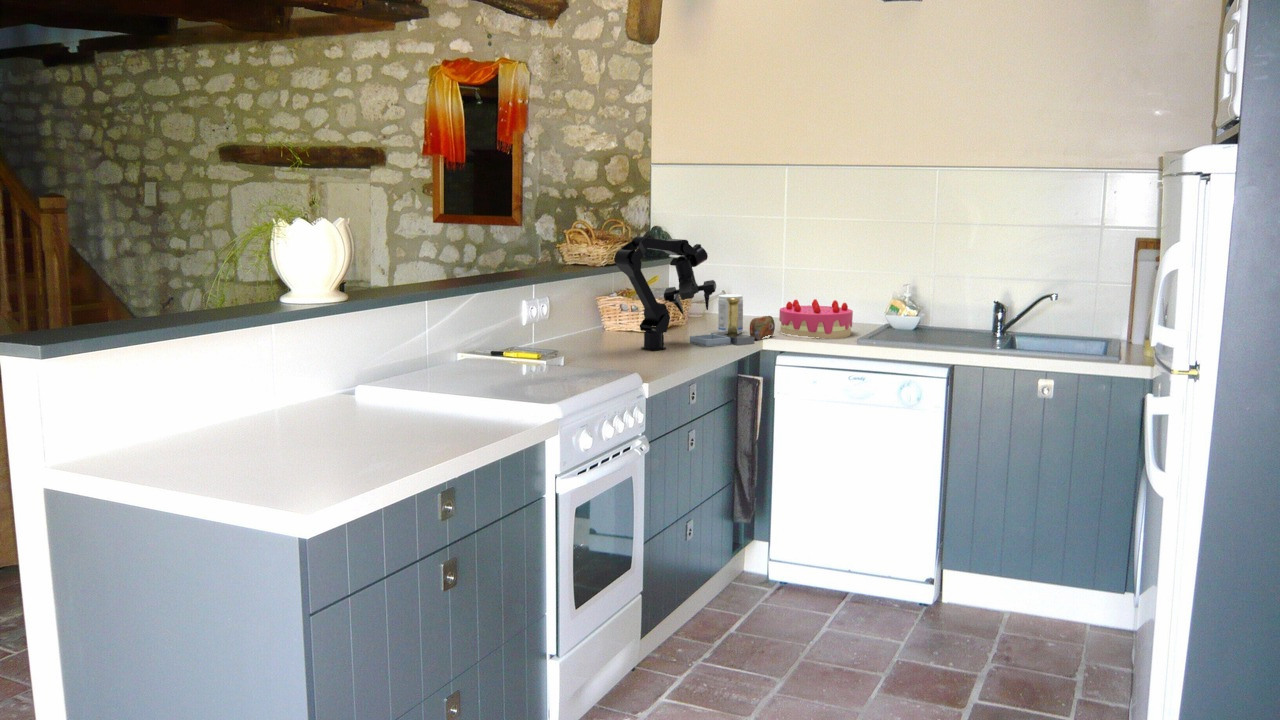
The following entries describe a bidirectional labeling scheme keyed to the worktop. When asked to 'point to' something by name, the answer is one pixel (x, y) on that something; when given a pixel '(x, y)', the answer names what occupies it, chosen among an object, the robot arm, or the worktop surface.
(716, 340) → the tray
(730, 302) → the pin
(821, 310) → the cake
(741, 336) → the hitch plate
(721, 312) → the supplement tub
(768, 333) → the tin
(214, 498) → the worktop surface
